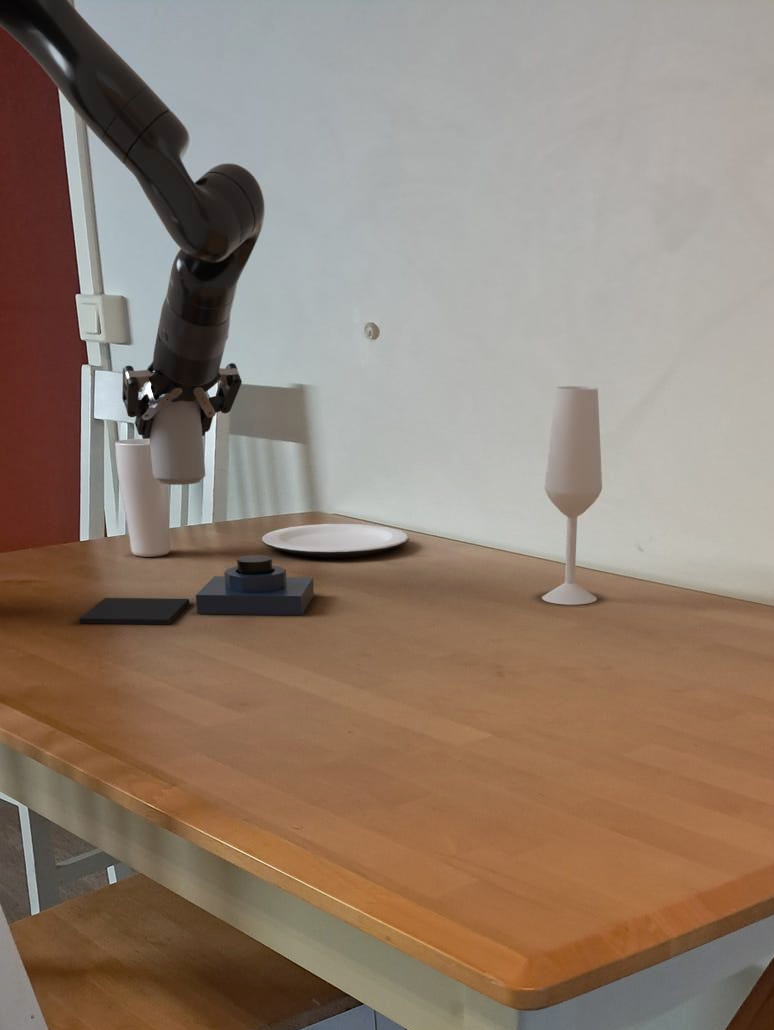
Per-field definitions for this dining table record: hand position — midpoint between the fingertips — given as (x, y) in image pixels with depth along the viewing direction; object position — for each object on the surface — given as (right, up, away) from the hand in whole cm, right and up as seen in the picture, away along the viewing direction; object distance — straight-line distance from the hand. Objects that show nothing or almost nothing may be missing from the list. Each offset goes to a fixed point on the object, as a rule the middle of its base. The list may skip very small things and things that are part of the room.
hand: (171, 431), depth 158 cm
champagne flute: (+49, -22, -4) cm, 54 cm away
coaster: (-1, -25, -12) cm, 28 cm away
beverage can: (+1, -6, +1) cm, 6 cm away
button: (+12, -20, -10) cm, 25 cm away
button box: (+12, -23, -8) cm, 27 cm away
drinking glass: (-7, -11, +19) cm, 23 cm away
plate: (+18, -9, +24) cm, 31 cm away
